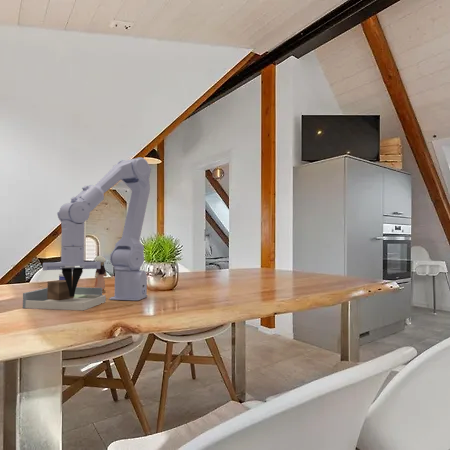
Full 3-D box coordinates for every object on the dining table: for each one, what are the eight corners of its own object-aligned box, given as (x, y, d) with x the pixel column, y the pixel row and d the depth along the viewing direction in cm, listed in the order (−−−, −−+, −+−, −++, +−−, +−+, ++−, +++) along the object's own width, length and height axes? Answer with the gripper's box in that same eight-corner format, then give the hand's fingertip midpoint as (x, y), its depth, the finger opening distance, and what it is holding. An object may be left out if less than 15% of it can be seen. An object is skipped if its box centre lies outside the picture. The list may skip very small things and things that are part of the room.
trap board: (106, 301, 110) (106, 288, 110) (83, 310, 96) (83, 295, 97) (52, 299, 112) (52, 286, 112) (22, 308, 99) (23, 293, 99)
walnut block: (73, 297, 104) (73, 280, 104) (58, 300, 100) (58, 282, 100) (62, 296, 106) (62, 279, 106) (47, 299, 102) (47, 281, 102)
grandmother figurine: (96, 290, 131) (97, 255, 131) (108, 290, 131) (108, 255, 131) (90, 294, 123) (91, 256, 123) (102, 294, 123) (103, 256, 124)
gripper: (99, 245, 107) (98, 292, 107) (44, 246, 102) (43, 295, 101) (101, 246, 101) (100, 296, 101) (42, 246, 95) (41, 299, 95)
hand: (71, 296), depth 100 cm, fingers closed
